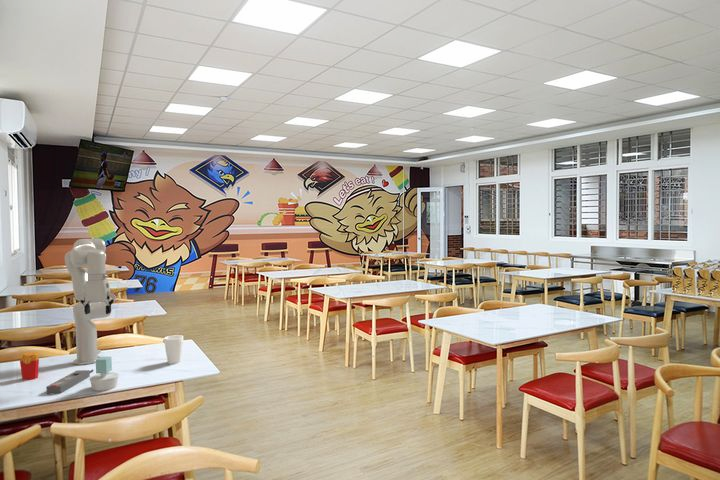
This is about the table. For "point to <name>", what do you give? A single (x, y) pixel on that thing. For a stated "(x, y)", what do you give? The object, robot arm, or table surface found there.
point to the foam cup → (173, 348)
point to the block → (103, 365)
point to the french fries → (29, 365)
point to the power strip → (68, 381)
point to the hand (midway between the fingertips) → (98, 313)
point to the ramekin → (104, 381)
